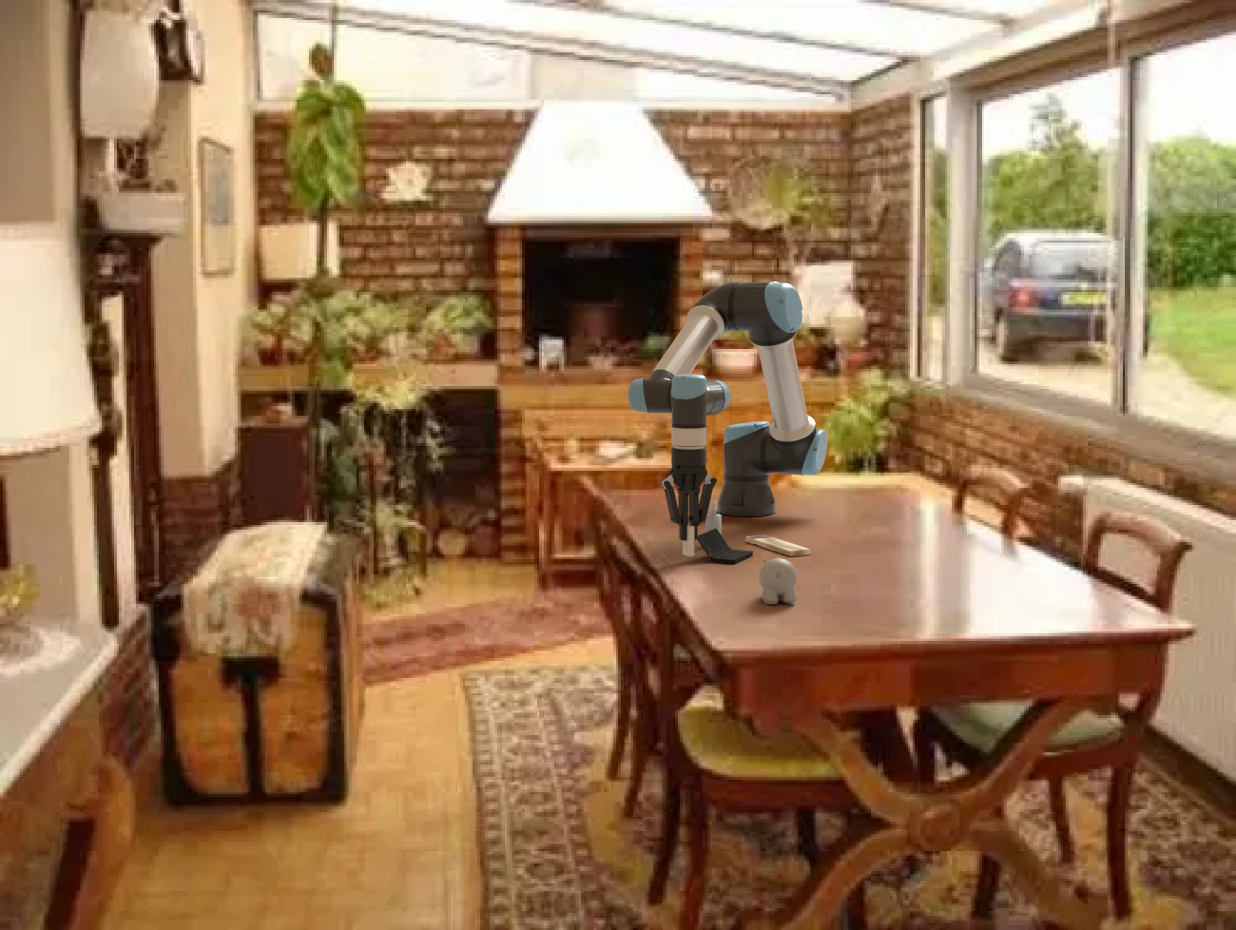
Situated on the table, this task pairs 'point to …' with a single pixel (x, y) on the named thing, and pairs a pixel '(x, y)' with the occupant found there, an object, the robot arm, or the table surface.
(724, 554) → the handheld gaming console
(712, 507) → the grey bottle
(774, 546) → the batten
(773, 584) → the toy rhinoceros
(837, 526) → the table surface
